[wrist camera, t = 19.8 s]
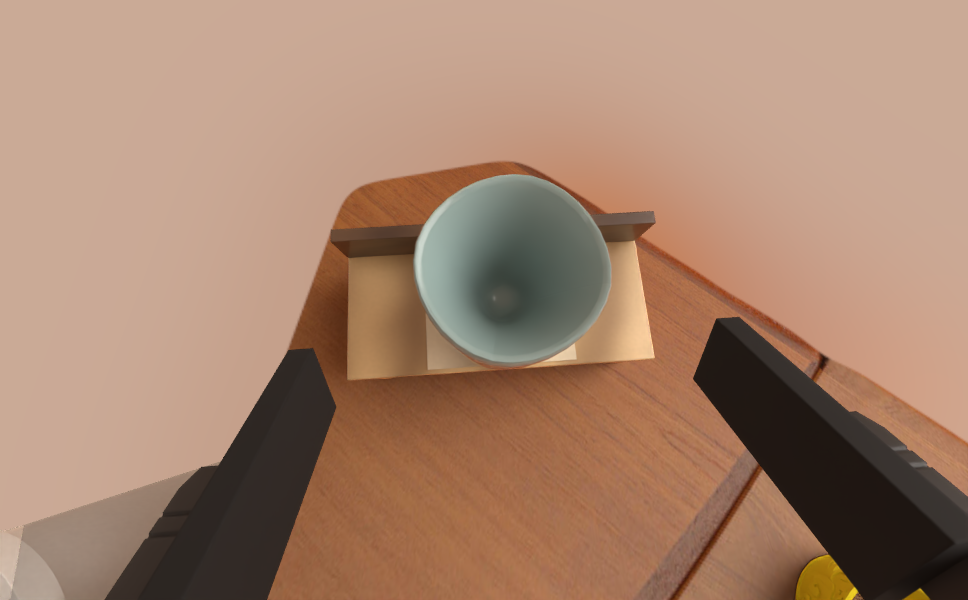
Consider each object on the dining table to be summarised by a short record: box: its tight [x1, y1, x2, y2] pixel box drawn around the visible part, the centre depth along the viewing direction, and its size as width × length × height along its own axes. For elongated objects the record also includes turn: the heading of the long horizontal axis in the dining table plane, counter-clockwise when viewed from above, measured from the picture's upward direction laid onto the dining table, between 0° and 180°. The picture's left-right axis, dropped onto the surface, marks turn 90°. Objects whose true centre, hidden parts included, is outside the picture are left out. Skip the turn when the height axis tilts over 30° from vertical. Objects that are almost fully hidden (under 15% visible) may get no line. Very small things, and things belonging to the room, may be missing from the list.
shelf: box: [331, 211, 656, 380], centre depth 25 cm, size 20×9×9 cm, turn 94°
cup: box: [413, 174, 612, 370], centre depth 19 cm, size 8×8×10 cm
